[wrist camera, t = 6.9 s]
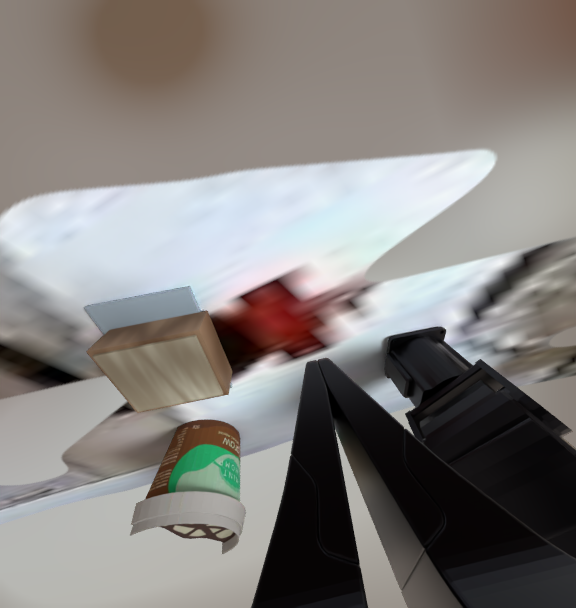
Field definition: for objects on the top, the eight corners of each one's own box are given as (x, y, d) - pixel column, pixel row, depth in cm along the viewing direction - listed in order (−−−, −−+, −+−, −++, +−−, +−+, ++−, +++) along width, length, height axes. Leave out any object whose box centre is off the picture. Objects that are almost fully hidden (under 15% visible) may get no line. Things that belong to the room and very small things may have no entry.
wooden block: (198, 331, 17) (83, 354, 16) (228, 396, 21) (136, 415, 20) (207, 310, 19) (109, 329, 19) (232, 371, 23) (151, 387, 23)
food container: (266, 439, 31) (268, 536, 22) (235, 456, 32) (225, 555, 24) (203, 399, 26) (173, 508, 17) (168, 422, 27) (124, 534, 18)
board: (189, 286, 18) (188, 288, 18) (232, 384, 25) (231, 387, 25) (87, 305, 18) (83, 307, 18) (156, 400, 25) (154, 403, 24)
